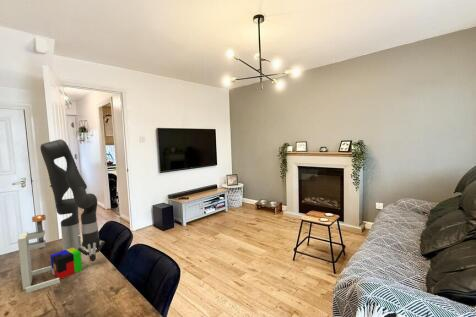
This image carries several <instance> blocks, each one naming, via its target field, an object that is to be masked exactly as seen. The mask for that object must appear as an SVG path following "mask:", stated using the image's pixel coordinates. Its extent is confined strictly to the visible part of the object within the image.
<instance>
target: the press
mask: <svg viewBox="0 0 476 317" xmlns="http://www.w3.org/2000/svg"><path fill="white" fill-rule="evenodd" d="M45 234H46V231H45V229H43V232H42V233H38V232H37V231H34V232H33V231H32V232H29V231H26V232H25V231H24V232H21V233H20V235H19V236H18V239H17V245H18V254H19V255H18V256H19V264H20V265H19V267H20V274H21V276H20V277H21V284H22V285H21V286H22V291H23V290H24V291H25V294H29V293H31V292H34V291H37V290H41V289H44V288H47V287H50V286H53V285H57V284H60V283H61V279H59V278H57V277H55V278H53V279H50V280H47V281H43V282H39V283H37V284H34V285H32V282H33V276H36V275H40V274H43V273H47V272H52V266H51V265H49V266H45V267H43V268H38V269H34V270H32V259H31V250H32V251H33V250H36V249H39V248H41V247H44V248H45V247H46V244H47V243H46V239H44V242H43V243H39V242H38V240H37V241H33V242H30V240H35V239H38V238H40V237H45Z"/></svg>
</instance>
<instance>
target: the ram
mask: <svg viewBox="0 0 476 317" xmlns="http://www.w3.org/2000/svg"><path fill="white" fill-rule="evenodd" d="M46 218H47V217H46V214H38V215H34V216H32V217H31V222H32V223H36V228H37V230H36V232H38V233H42V232H43V230H44V229H43V221H46V220H47V219H46ZM44 237H45V236H44ZM44 237H40V238H37V239H38V240H37V241H38V242H39V243H43V242H44V240H45V239H44ZM44 248H45V247H41V248H38V249H39V250H41V249H44Z"/></svg>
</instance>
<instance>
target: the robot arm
mask: <svg viewBox="0 0 476 317" xmlns="http://www.w3.org/2000/svg"><path fill="white" fill-rule="evenodd" d="M39 148H40V153H41V156H42V158H43V162H44V164H45V166H46V169H47V173H48V178H49V182H50V186H51V189H52V192H53V197H54V202H55V203H54V204H55V209H56V213H57V214H58V215H61V216H62V215H67V214H71V215H70V216H68V217H66V218H64V219H62V220H61V221H60V231H61V239H62V240H61V241H62V251H64V250H67V249H70V248H75V249H77V250H78V251H80V252H81V254H83V255H84V256H86V257H87V256H88V257H89V262H91V263H92V262H95V261H96V260H97V256H96V255H97V254H98V253H100V251H101V249H102V248H103V247H104V245H105V241H104V240H101V239H100V236H99V235H100V233H99V225H98V220H97V209H98V198H97V196H96V195H95V194H94V193H87V191H86V190H87V188H88V185H87V183H86V182H85V180H84V178H83V177H82V175H81V174H80V171H79V169H78V166H77V163H76V162H75V158H74V156H73V154H72V152H71V149H70V147H69V145H68V144H67V142H66V141H65V140H63V139H55V140H52V141H48V142H45V143H42V144H40V147H39ZM63 157H64V159H65V162H66V168H65V169H63V168H62V167H60V166H59V165H58V164H56V162H55V160H56V159H57V160H58V159H60V158H63ZM69 189H70V190H71V192H72V196H73V197H72V198H63V197H64V195H65V194H66V193H67V192H68V190H69ZM79 209H82V210H83V212H82V213H81V215H80V219H79ZM80 222H81V227H80ZM80 228H81V230H80ZM81 239H82V241H81ZM87 250H88V251H87Z"/></svg>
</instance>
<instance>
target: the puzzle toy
mask: <svg viewBox="0 0 476 317" xmlns="http://www.w3.org/2000/svg"><path fill="white" fill-rule="evenodd" d="M50 263H51V264H50V266H52V270H51V274H52V275H53V276H54V277H55V278H59V279H60V280H62V279H64V278H66V277H69V276H72V275H74V274H76V273H78V272H80V271H82V270H83V265H82V253H81V252H80V251H78V250H77V249H75V248H70V249H67V250H64V251H63V250H61V251H58V252H55V253H52V254H50Z"/></svg>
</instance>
